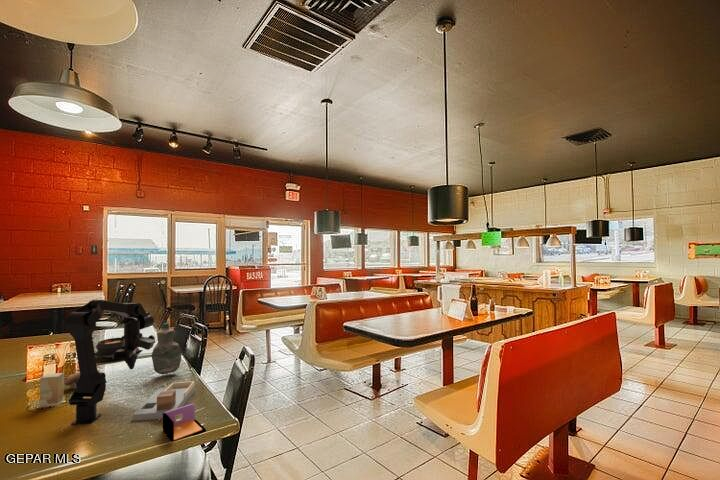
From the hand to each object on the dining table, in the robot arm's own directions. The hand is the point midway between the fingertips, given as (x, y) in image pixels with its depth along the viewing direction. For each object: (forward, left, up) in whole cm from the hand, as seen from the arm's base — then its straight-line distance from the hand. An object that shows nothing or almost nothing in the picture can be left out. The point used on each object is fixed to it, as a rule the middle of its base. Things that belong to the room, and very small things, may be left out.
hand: (131, 369), depth 147 cm
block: (-20, -21, -8) cm, 31 cm away
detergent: (+25, -5, -11) cm, 27 cm away
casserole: (+64, +39, -11) cm, 76 cm away
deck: (-13, -19, -11) cm, 25 cm away
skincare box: (-5, +27, -11) cm, 30 cm away
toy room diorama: (-36, -32, -12) cm, 49 cm away
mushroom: (+13, +29, -11) cm, 34 cm away
